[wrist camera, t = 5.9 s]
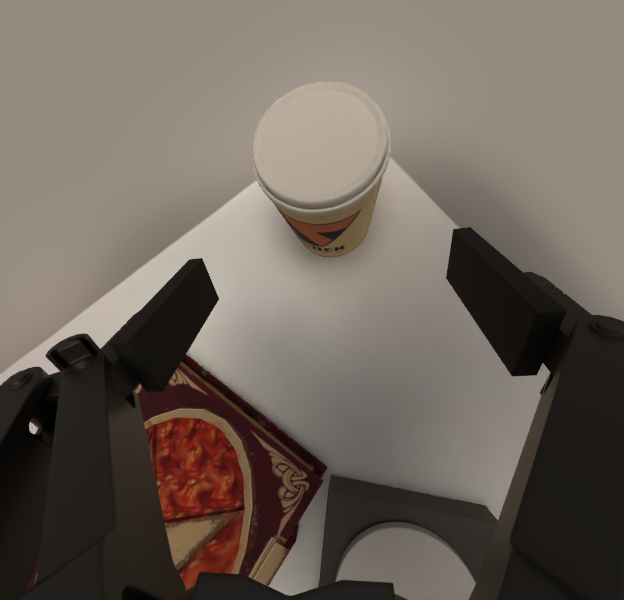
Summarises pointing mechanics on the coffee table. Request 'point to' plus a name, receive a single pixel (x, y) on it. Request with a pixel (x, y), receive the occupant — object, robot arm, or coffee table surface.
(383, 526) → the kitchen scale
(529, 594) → the robot arm
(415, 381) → the coffee table surface
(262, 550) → the book
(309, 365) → the coffee table surface
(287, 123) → the coffee cup
